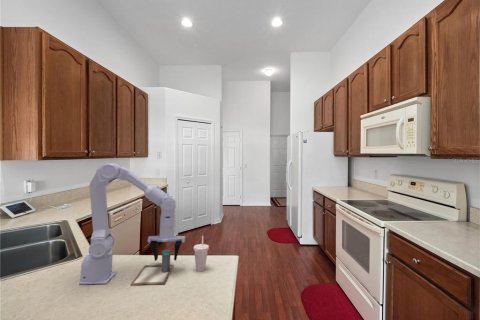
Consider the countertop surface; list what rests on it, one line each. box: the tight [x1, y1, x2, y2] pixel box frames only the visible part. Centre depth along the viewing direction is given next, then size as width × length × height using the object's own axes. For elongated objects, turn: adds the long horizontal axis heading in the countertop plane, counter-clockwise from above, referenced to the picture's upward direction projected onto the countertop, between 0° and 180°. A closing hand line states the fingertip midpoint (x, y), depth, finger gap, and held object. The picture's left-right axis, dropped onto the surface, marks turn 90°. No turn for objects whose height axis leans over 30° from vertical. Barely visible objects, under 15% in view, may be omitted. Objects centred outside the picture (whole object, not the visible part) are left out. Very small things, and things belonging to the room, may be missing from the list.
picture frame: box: [130, 262, 174, 287], centre depth 88 cm, size 12×16×1 cm
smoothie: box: [193, 235, 210, 273], centre depth 93 cm, size 6×6×14 cm
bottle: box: [161, 249, 172, 273], centre depth 90 cm, size 3×3×8 cm
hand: (165, 259), depth 90 cm, fingers open, 7 cm apart
